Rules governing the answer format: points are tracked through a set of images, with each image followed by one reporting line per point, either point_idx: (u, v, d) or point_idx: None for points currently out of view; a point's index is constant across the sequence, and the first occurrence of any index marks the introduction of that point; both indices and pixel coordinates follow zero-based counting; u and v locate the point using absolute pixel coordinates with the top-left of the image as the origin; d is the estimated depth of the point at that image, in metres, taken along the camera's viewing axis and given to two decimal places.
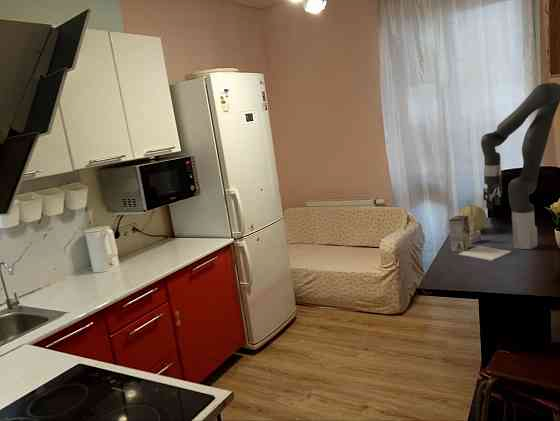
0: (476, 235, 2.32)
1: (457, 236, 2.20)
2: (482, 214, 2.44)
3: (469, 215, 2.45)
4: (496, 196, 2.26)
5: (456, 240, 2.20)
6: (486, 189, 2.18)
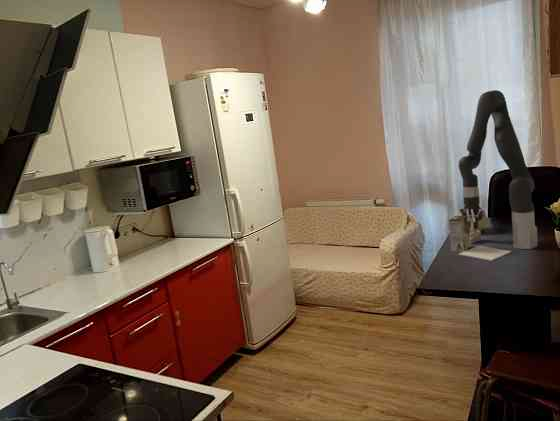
0: (476, 235, 2.33)
1: (457, 236, 2.20)
2: None
3: None
4: None
5: (456, 240, 2.21)
6: (483, 212, 2.25)
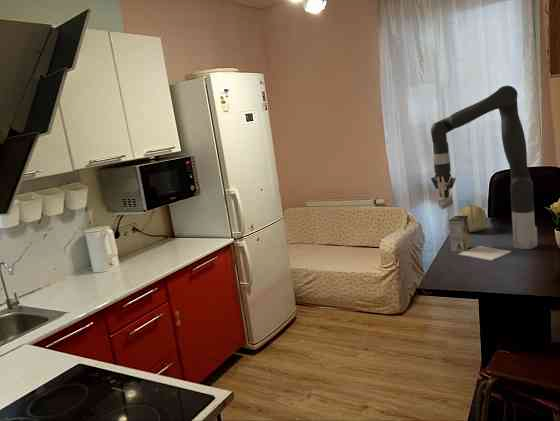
0: (448, 200, 2.26)
1: (457, 236, 2.20)
2: (482, 214, 2.44)
3: (469, 215, 2.45)
4: None
5: (456, 240, 2.21)
6: (454, 179, 2.19)
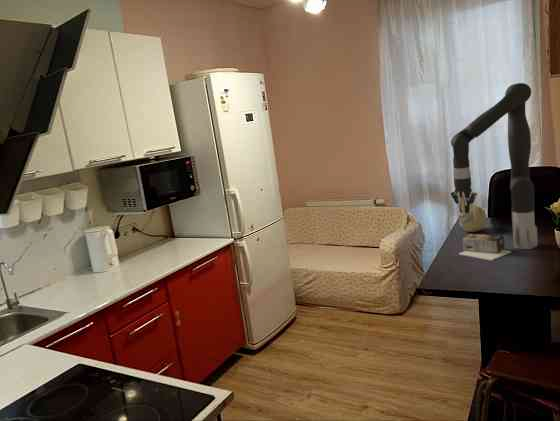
0: (468, 215, 2.18)
1: (479, 246, 2.14)
2: (482, 214, 2.44)
3: None
4: None
5: (475, 245, 2.15)
6: (475, 194, 2.11)
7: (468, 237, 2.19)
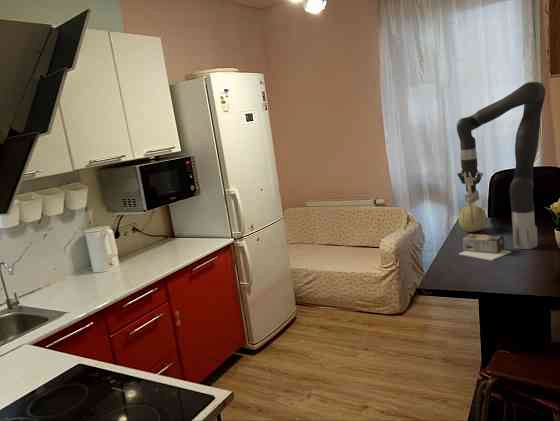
0: (474, 195, 2.29)
1: (479, 246, 2.14)
2: (482, 214, 2.44)
3: (469, 215, 2.45)
4: None
5: (475, 245, 2.15)
6: (481, 174, 2.22)
7: (468, 237, 2.19)
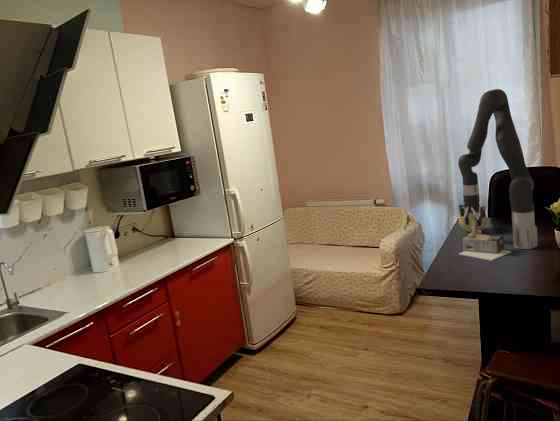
0: None
1: (479, 246, 2.14)
2: None
3: (469, 215, 2.45)
4: (466, 216, 2.34)
5: (475, 245, 2.15)
6: (484, 207, 2.25)
7: (468, 237, 2.19)
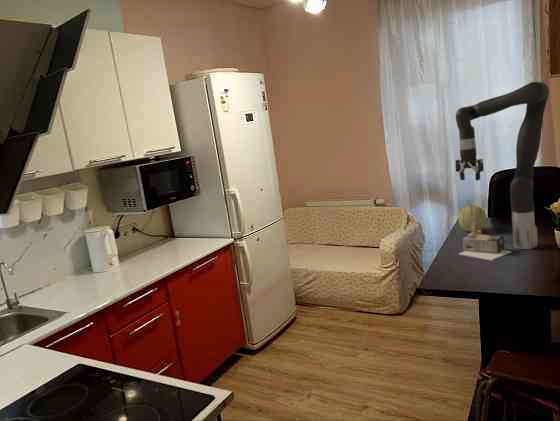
0: None
1: (479, 246, 2.14)
2: (482, 214, 2.44)
3: (469, 215, 2.45)
4: (462, 171, 2.31)
5: (475, 245, 2.15)
6: (481, 160, 2.21)
7: (468, 237, 2.19)
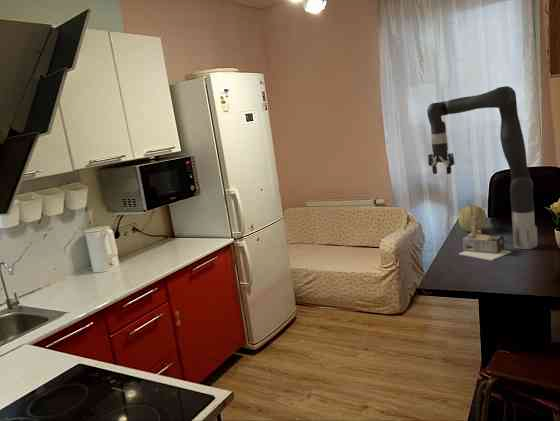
0: None
1: (479, 246, 2.14)
2: (482, 214, 2.44)
3: (469, 215, 2.45)
4: (434, 165, 2.37)
5: (475, 245, 2.15)
6: (451, 154, 2.27)
7: (468, 237, 2.19)
